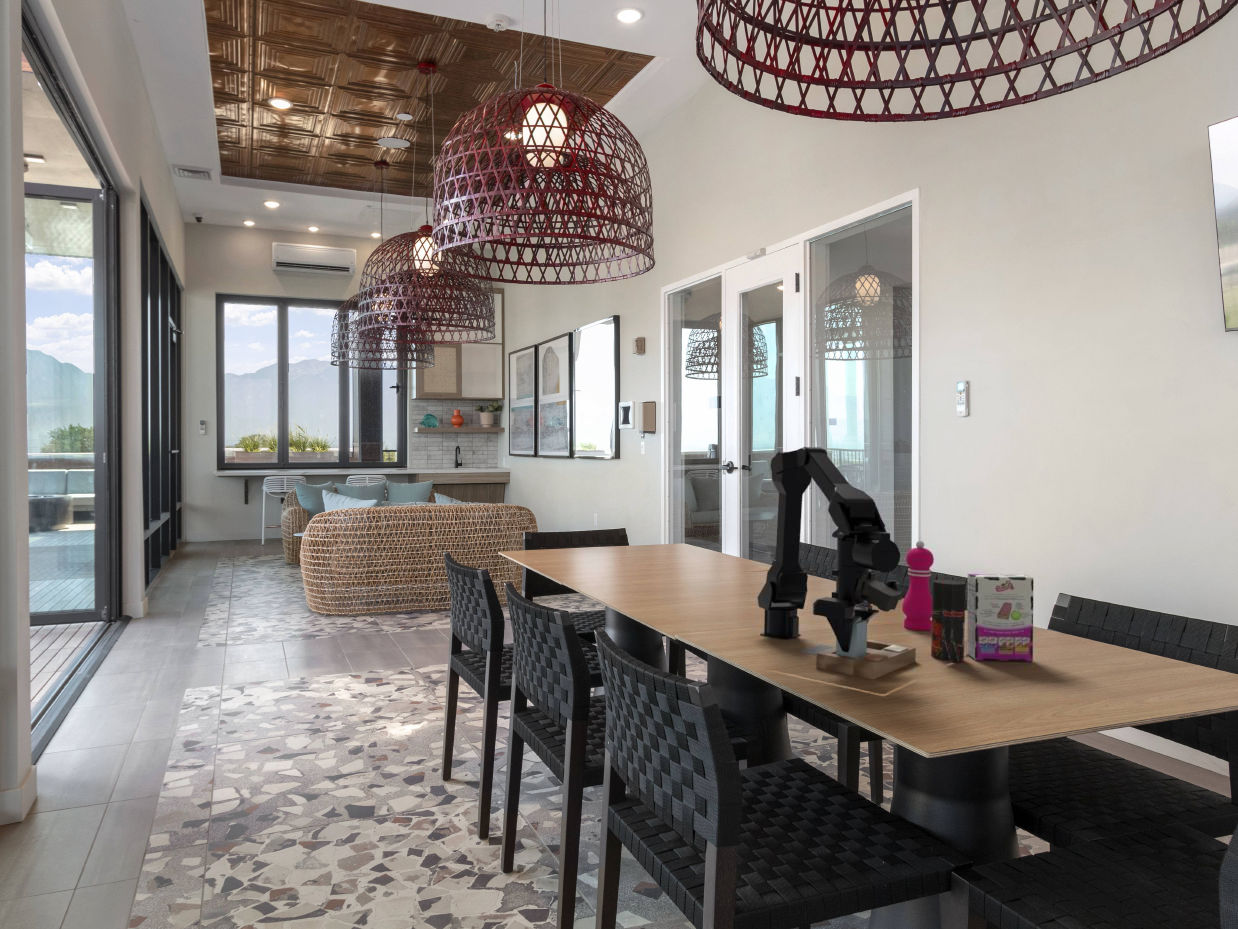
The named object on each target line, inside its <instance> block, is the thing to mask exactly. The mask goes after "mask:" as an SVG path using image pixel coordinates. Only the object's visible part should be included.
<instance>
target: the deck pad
mask: <svg viewBox="0 0 1238 929" xmlns="http://www.w3.org/2000/svg"><path fill="white" fill-rule="evenodd" d="M834 647H835V646H832V645H831V646H830V645H827V644H818V645H816V646H812V647H809V648H805V649H802V650H800V651H798V652H799V653H803V654H807V655H813V656H817V653H819V652H822V651H825V650H828V649H831V648H834Z"/></svg>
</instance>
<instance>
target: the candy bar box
mask: <svg viewBox="0 0 1238 929" xmlns="http://www.w3.org/2000/svg"><path fill="white" fill-rule="evenodd" d="M1034 584H1035V583H1034V577H1032V576H1030V575H1026V574H1012V573H1011V574H1010V573H1009V574H1006V573H1004V574H1003V573H1001V574H999V573H997V574H996V573H995V574H994V573H988V574H987V573H967V600H966V601H967V606H966V608H967V611H966V612H967V614H966V615H967V616H966V618H967V621H966V623H967V624H966V625H967V629H966V633H967V634H966V635H967V636H966V641H967V642H966V644H967V645H966V647H967V648H966V649H967V650H966V653H967V654H966V655H967V656H968V657H970V658H971V659H973V660H975V661H979V662H980V661H981V662H984V661H985V662H1030V663H1031V662H1033V660H1034V654H1033V653H1034Z"/></svg>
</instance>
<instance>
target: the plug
mask: <svg viewBox="0 0 1238 929" xmlns="http://www.w3.org/2000/svg"><path fill="white" fill-rule="evenodd" d="M835 638H836V637H835ZM867 639H868V624H867V621H866V620H861V617H860V618H859V619H858V620H857V621H856V622H855V623H854V624H853V628H852V635H851V642H850V648H849V652H843V651H842V649H841V647H840V645H839V643H838V640H837V638H836V639H835V647H836V654H837V655H842V656H847V657H852V658H861V657H862V656H865V655H866V651H867Z"/></svg>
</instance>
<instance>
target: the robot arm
mask: <svg viewBox="0 0 1238 929" xmlns="http://www.w3.org/2000/svg"><path fill="white" fill-rule="evenodd" d="M770 470H771V481H772V482H773V485H774V487H775V488H776V490H777V492H778V503H777V504H778V508H777V523H776V527H777V528H776V542H775V543H776V544H775V546H776V548H775V560H774V562H773V563H772V565H771V566H770V568H769V569H768V571H767V572H766V579H765V580H766V581H765V584H764V585H763V587H762V589H761V590H760V592H759V594H758V596H757V604H758V607H759V608H760V609H763V610H764V616H763V617H764V620H763V622H764V626H763V627H764V628H763V632H760V634H759V635H760V636H762V637H767V638H771V639H772V638H773V639H778V640H783V641H789V640H791V639H794V638H797V637H800V636H802V635H801V633H800V630H799V628H800V617H799V616H798V610H804V608H805V604H806V598H807V594H808V591H809V590H808V579H809V576H808V573H807V572H806V571H804V569H803V568H802V565H801V564H800V548H801V533H802V532H801V531H802V530H801V528H802V511H803V495H804V493H805V492H806V490H807V489H808V488H809V487H810V485H811V483H812V481H814V482H815V484H816V485H817V486H818V487H817V488H819V489H820V491H821V492H822V494H823V495H824V497H825V498H826V499H827V501H828V503H829V504H828V508H827V512H828V514H829V516H830V518H831V520H832V521H833V523H834V524H835V526H836V527H837V529H835V530H834V531H833V532H832V534H831V537H832V538H835V539H836V568H835V569H832V570H831V576H834V577H836V578H835V580H836V581H835V582H836V584H835V591H832V592H831V597H829V596H825V597H822V598H817V599H816V600H815V601H814V602H813V603H812V615H814V616H818V617H819V616H821V617H824V618H825V619H826V620H827V622H828V623H829V626H830V627H831V629H832V632H833V633H834V636H835V638H837V640H838V643H839V645H840V647H841V649H842V651H843V652H849V648H850V642H851V635H852V628H853V624H854V623H855V622H856V621H857V620H858V619H859V618H860V617H861V620H866V621H867V625H868V624H869V621H870V619H872V618H873V617H875V616H876V615H877V614H879V612H880V611H882V612H885V613H888V612H890V611H891V610H894V611H895V610H896V609H897V608H896V607H897V605H898V603H899V601H902V600H903V599H904V598H903V591H902V586H901V583H900V582H899V581H897V580H895V579H892V580H889V581H887V582H886V583H885V582H884V581H882V582H881V581H878V580H876V578H875V577H876V576H875V574H876V573H875V572H874V571H876V572H879V573H883V574H886V573H890V572H892V571H894V570H895V569H896V568H897V567H898V565H899V563H900V559H901V551H900V550H899V547H898V544H897V543H896V542H894V541H893V540H891V533H890V532H887V530H886V524H885V522H884V521H883V519H882V517H881V514H880V512H879V509H878V507H877V505H876V502H875V500H874V499H873V498H872V497H871V496H870V495H869V494H867V492H865V491H863V490H860V489H859V488H857V487H855V486H853V485H851V484H850V483H849V482H848V480H847V478H845V477H844V475H843V474H842V473H841V471H840V470H839V469H838V468H837V467H836V465H835V464H834V462H833V461H832V460H831V459H830V458H829V455H828V452H827V450H826V449H825V448H822V446H821V447H819V446H816V447H815V446H803V447H801V448H797V449H794V450H790V451H778V452H777V453H775V456H774V457H772V458H771V460H770ZM873 606H875V607H876V608H877V609H873Z"/></svg>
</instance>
